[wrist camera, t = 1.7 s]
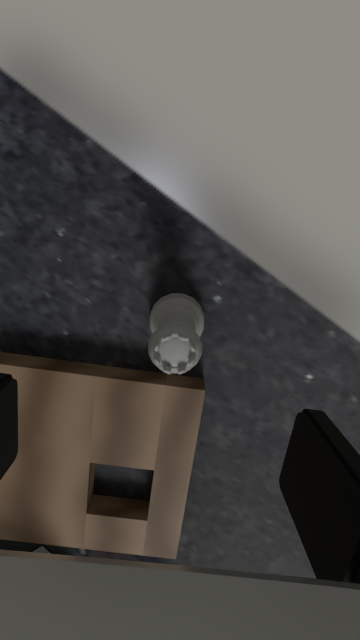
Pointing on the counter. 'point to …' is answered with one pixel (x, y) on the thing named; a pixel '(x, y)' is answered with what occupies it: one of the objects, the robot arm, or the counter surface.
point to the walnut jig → (98, 454)
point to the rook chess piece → (176, 333)
